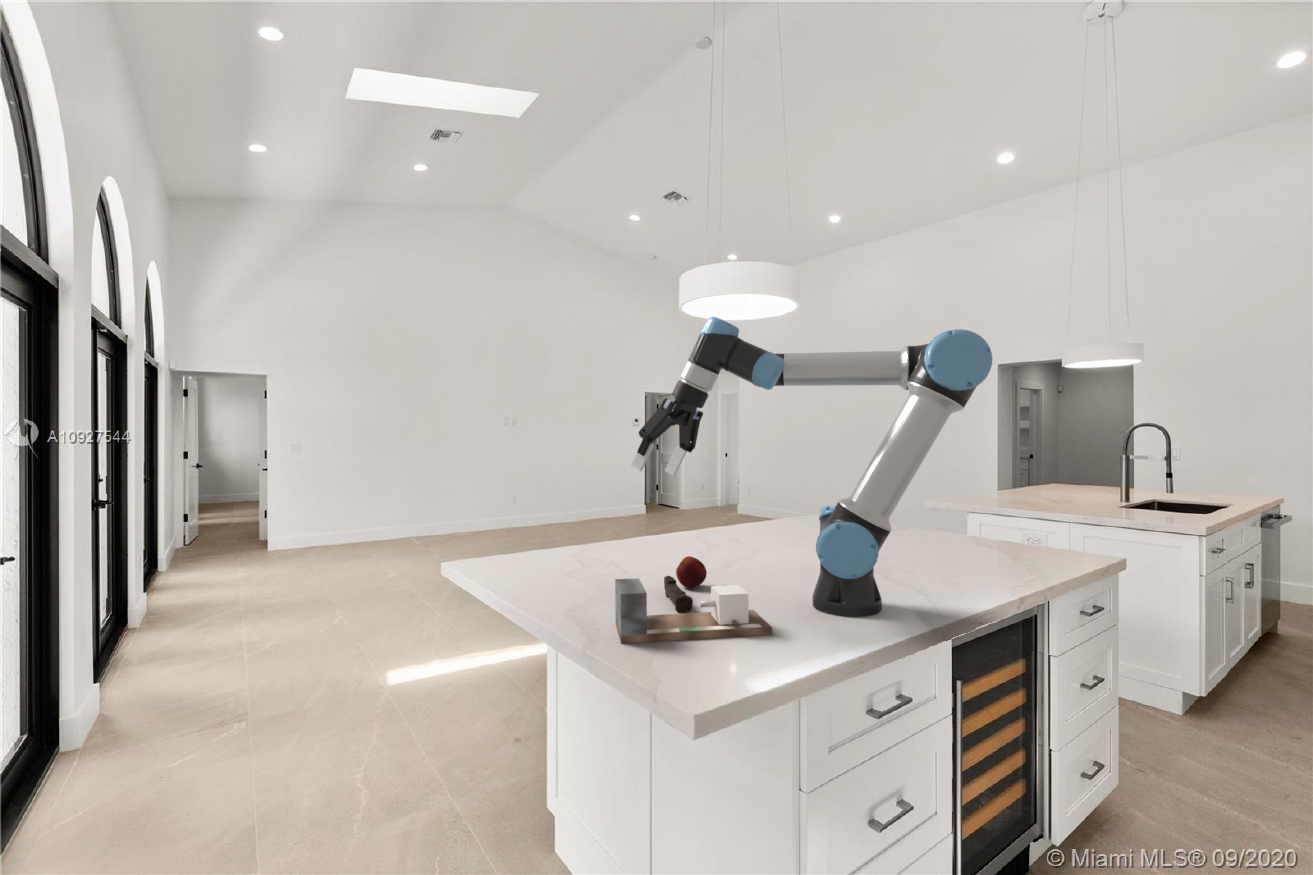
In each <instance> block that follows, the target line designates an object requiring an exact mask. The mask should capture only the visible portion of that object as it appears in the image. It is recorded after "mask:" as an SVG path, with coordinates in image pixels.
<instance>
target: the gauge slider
mask: <svg viewBox="0 0 1313 875" xmlns="http://www.w3.org/2000/svg"><path fill="white" fill-rule="evenodd" d="M699 604H700V608H710V609H711V610H710V612H711V615H712V616H713V617H714V619H715V620H716V621H717V622H718V624H719V625H726V624H734V625H735V626H740V624H744V623H749V615H748V610H749V593H748V592H747V591H746V590H745V589H744V588H743V587H742V586H740V584H736V585H734V584H733V585H732V584H731V585H729V584H728V585H716V586H715V585H711V586H710V600H703V601H702V600H701V601H700V603H699Z"/></svg>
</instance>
